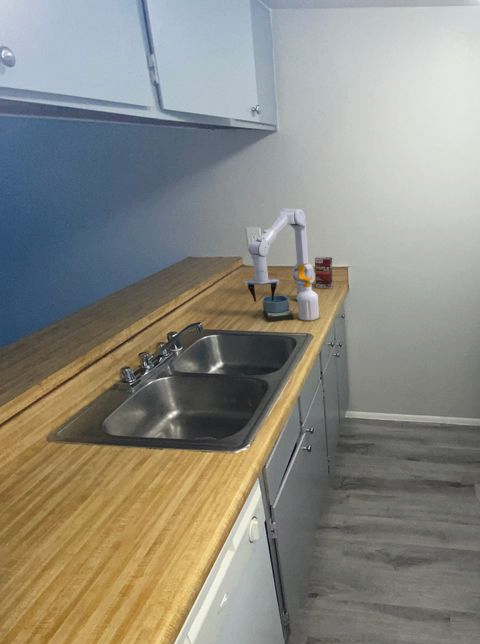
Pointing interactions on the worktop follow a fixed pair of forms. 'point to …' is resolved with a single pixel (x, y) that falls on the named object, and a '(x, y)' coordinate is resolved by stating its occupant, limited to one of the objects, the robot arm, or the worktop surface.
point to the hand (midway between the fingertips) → (264, 300)
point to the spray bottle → (307, 298)
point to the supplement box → (323, 272)
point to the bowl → (276, 304)
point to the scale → (278, 316)
